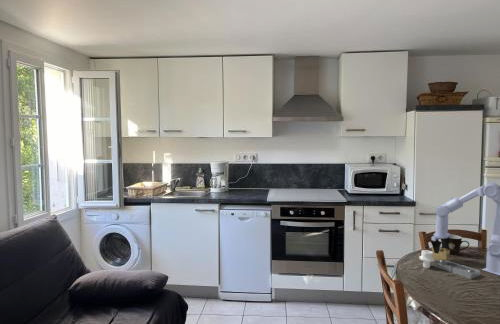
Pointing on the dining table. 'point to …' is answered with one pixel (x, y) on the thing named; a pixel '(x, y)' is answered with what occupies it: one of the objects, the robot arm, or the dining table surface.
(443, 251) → the gold bar with studs
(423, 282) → the dining table surface
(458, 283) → the dining table surface
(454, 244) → the coffee mug
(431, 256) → the pipe fitting
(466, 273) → the grey slotted frame
